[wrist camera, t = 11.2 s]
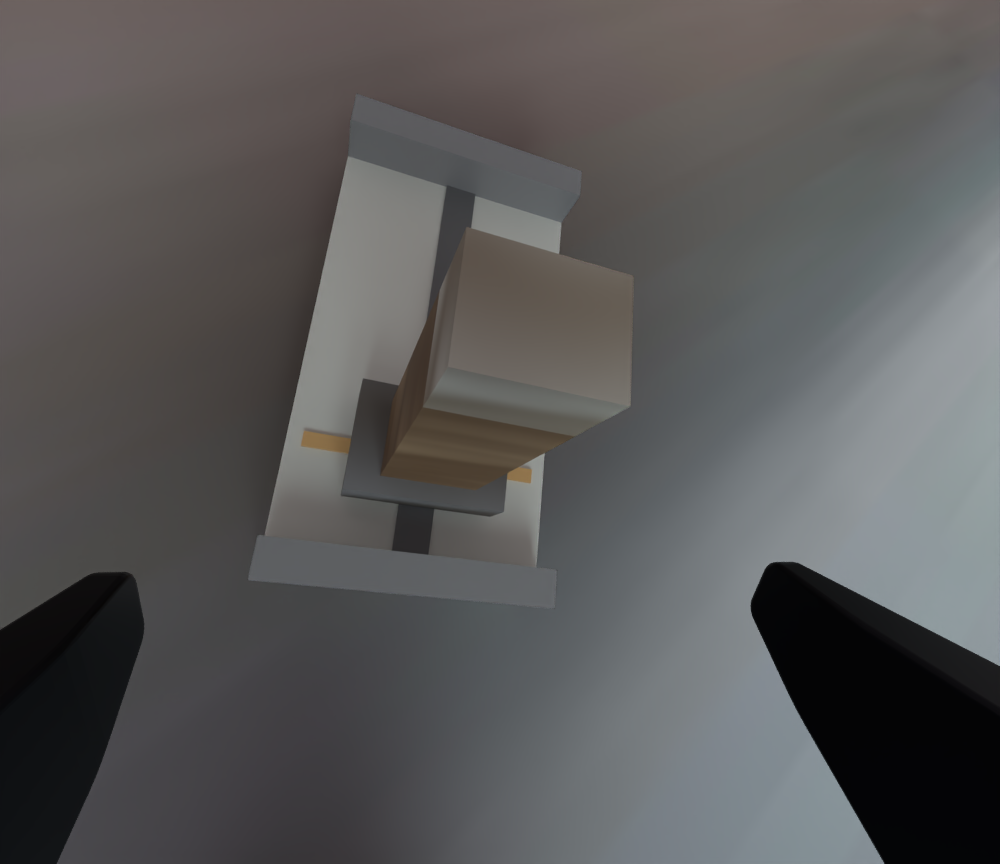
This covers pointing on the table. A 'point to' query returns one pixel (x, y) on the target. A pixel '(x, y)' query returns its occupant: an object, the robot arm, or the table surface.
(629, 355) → the fader
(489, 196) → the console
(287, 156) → the table surface
